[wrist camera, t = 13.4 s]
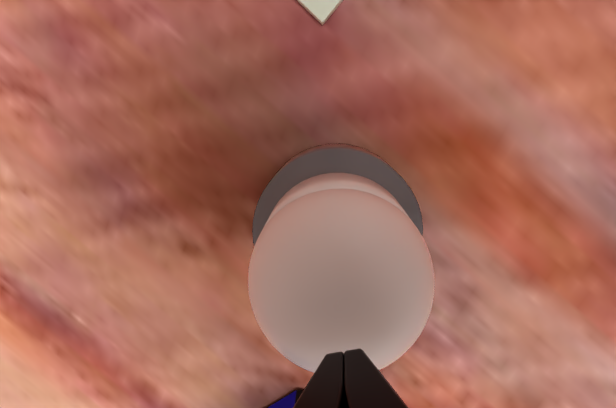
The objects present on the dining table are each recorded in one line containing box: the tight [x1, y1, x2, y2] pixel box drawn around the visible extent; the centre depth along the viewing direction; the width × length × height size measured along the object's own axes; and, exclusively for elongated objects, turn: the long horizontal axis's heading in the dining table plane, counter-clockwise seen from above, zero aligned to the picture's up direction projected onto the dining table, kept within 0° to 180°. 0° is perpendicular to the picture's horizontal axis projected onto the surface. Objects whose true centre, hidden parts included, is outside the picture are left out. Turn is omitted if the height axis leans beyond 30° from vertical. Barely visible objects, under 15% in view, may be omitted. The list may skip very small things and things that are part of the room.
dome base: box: [252, 144, 423, 246], centre depth 19 cm, size 8×8×3 cm
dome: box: [248, 173, 435, 373], centre depth 13 cm, size 6×6×6 cm
